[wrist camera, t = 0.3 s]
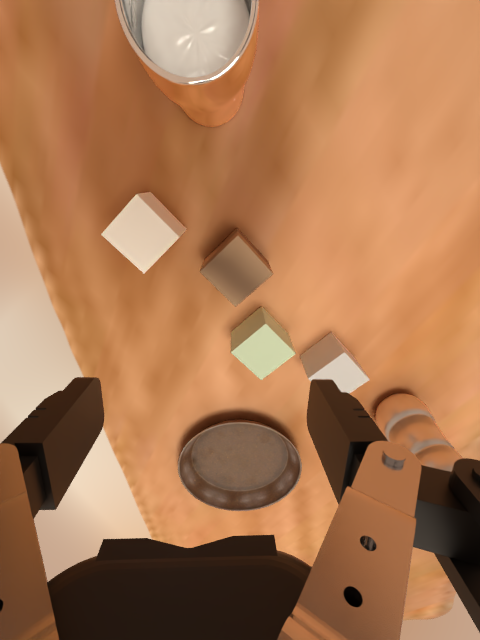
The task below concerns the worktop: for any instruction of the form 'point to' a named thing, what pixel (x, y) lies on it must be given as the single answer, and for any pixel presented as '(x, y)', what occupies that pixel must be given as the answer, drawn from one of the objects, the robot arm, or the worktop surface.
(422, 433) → the plastic bottle
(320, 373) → the grey block
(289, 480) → the plant saucer
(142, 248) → the white block
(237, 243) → the walnut block
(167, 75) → the beer glass
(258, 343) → the green block
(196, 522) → the worktop surface
